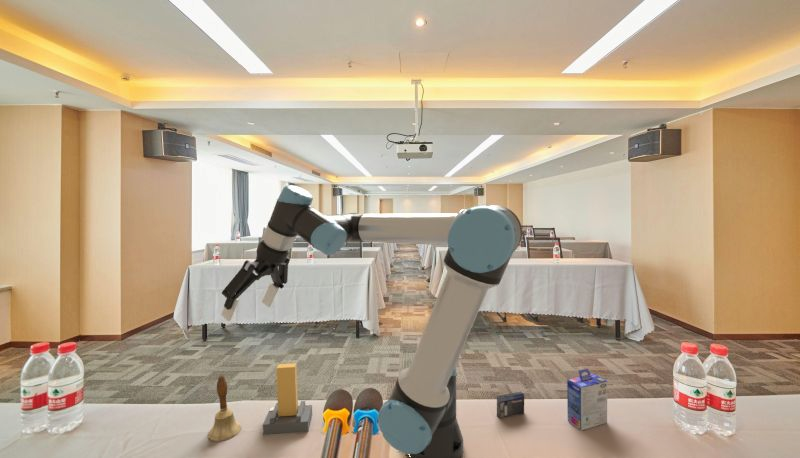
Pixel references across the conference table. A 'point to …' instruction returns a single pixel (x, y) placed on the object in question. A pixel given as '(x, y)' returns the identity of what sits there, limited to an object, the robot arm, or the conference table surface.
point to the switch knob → (287, 389)
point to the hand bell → (223, 417)
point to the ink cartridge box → (587, 400)
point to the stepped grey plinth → (288, 421)
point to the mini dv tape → (510, 404)
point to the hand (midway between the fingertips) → (247, 310)
